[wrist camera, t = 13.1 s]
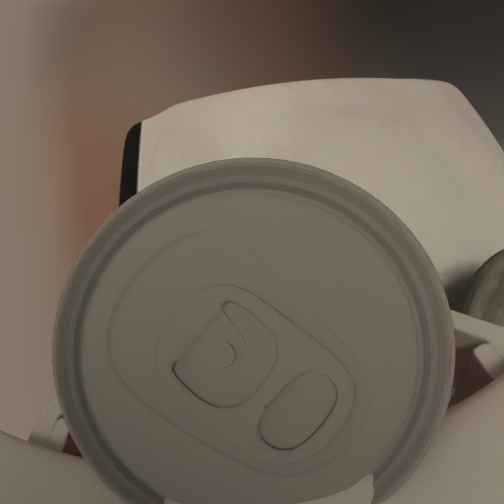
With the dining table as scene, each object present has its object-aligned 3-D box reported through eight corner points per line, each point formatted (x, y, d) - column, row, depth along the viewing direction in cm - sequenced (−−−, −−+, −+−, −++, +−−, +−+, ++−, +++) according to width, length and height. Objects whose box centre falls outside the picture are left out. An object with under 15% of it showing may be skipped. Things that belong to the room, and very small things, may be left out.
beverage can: (262, 268, 16) (213, 78, 4) (360, 339, 14) (538, 286, 2) (185, 361, 14) (-12, 351, 3) (282, 438, 12) (270, 612, 1)
